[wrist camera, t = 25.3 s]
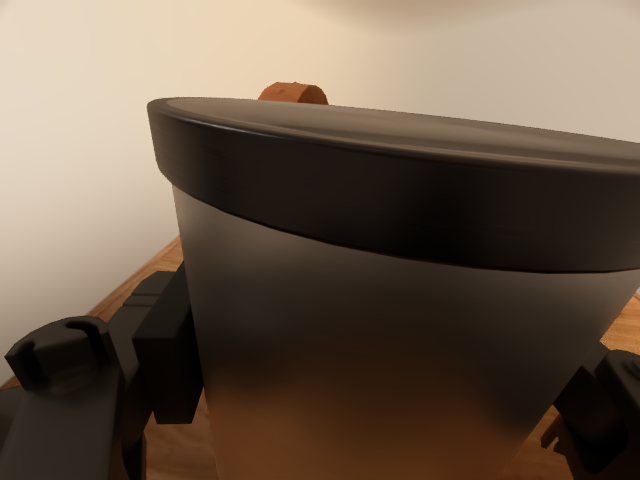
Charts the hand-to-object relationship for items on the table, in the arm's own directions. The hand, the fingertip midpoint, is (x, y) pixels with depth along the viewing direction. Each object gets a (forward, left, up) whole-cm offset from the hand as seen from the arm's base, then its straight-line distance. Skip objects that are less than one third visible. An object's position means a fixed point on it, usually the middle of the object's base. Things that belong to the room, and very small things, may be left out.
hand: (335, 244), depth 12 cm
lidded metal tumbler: (+2, -4, -7) cm, 8 cm away
